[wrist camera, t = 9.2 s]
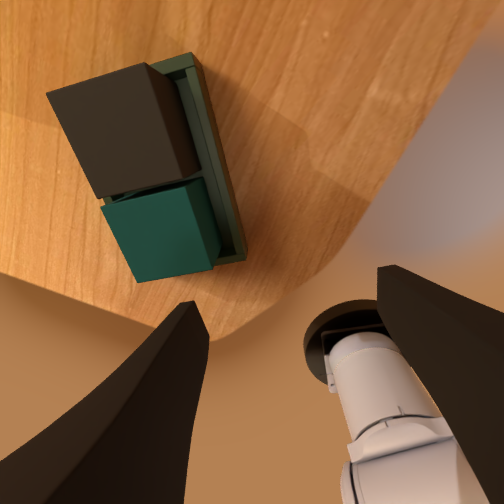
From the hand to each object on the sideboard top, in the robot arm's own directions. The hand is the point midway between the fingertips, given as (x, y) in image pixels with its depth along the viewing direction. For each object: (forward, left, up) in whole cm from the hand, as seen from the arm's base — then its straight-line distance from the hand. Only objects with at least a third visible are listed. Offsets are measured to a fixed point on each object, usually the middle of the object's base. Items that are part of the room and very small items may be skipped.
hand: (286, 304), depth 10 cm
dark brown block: (+8, +7, -9) cm, 14 cm away
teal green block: (+2, +7, -9) cm, 11 cm away
